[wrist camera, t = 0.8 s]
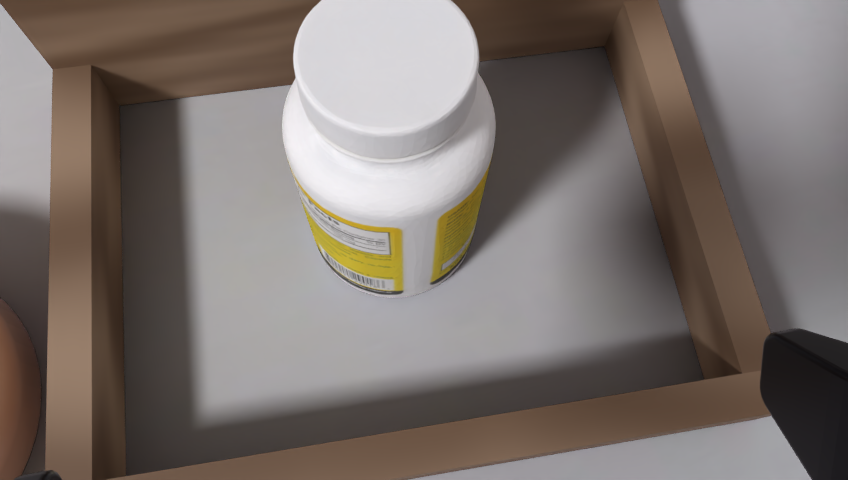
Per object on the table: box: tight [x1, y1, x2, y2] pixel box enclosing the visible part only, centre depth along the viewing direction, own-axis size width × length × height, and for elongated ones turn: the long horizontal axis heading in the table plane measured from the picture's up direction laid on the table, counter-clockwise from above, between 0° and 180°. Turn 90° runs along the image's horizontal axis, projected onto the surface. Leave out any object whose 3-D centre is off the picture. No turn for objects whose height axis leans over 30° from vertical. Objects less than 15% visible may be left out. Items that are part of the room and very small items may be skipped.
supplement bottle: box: [282, 0, 496, 298], centre depth 20 cm, size 5×5×10 cm
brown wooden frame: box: [0, 0, 771, 480], centre depth 20 cm, size 15×20×9 cm
